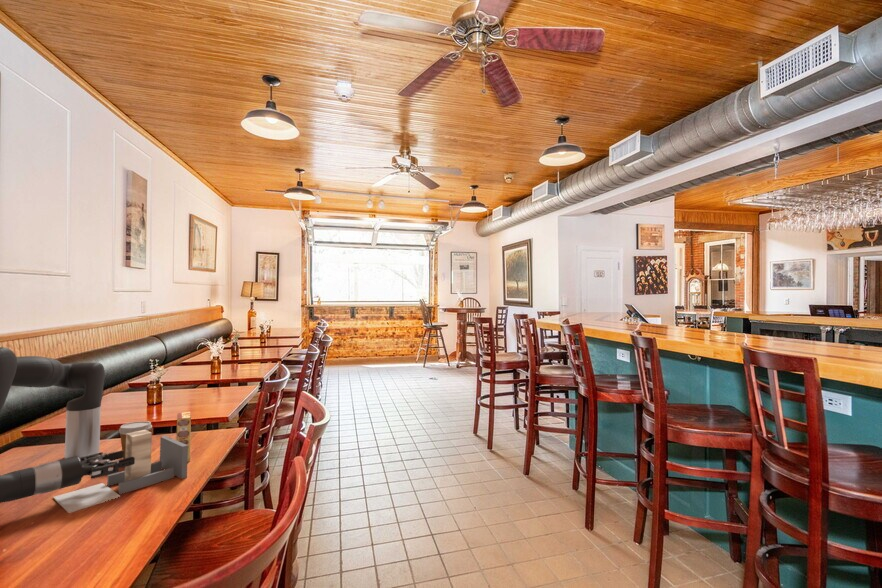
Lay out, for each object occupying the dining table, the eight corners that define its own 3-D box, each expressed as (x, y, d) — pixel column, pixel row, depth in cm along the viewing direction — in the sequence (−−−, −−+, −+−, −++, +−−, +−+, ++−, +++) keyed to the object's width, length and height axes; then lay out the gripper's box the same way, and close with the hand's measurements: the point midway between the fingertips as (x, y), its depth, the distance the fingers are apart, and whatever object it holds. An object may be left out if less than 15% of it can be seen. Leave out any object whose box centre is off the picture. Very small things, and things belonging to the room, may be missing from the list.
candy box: (190, 461, 141) (191, 417, 141) (175, 463, 139) (177, 418, 139) (189, 453, 148) (190, 411, 149) (175, 455, 146) (176, 412, 146)
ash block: (124, 483, 123) (126, 433, 124) (143, 477, 127) (145, 429, 128) (130, 487, 120) (132, 436, 121) (150, 481, 124) (151, 432, 125)
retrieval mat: (53, 498, 113) (53, 496, 113) (102, 484, 122) (102, 482, 122) (68, 513, 105) (68, 511, 105) (120, 497, 114) (120, 495, 114)
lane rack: (103, 482, 123) (104, 449, 124) (164, 465, 137) (165, 435, 137) (123, 497, 114) (124, 461, 115) (186, 477, 128) (187, 445, 128)
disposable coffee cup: (156, 457, 144) (157, 423, 144) (124, 466, 136) (125, 430, 136) (144, 452, 149) (145, 419, 149) (112, 460, 141) (113, 425, 141)
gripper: (64, 467, 105) (138, 449, 118) (49, 455, 113) (120, 439, 126) (63, 496, 105) (137, 475, 118) (48, 482, 113) (119, 464, 126)
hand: (128, 457), depth 122 cm, fingers open, 8 cm apart
